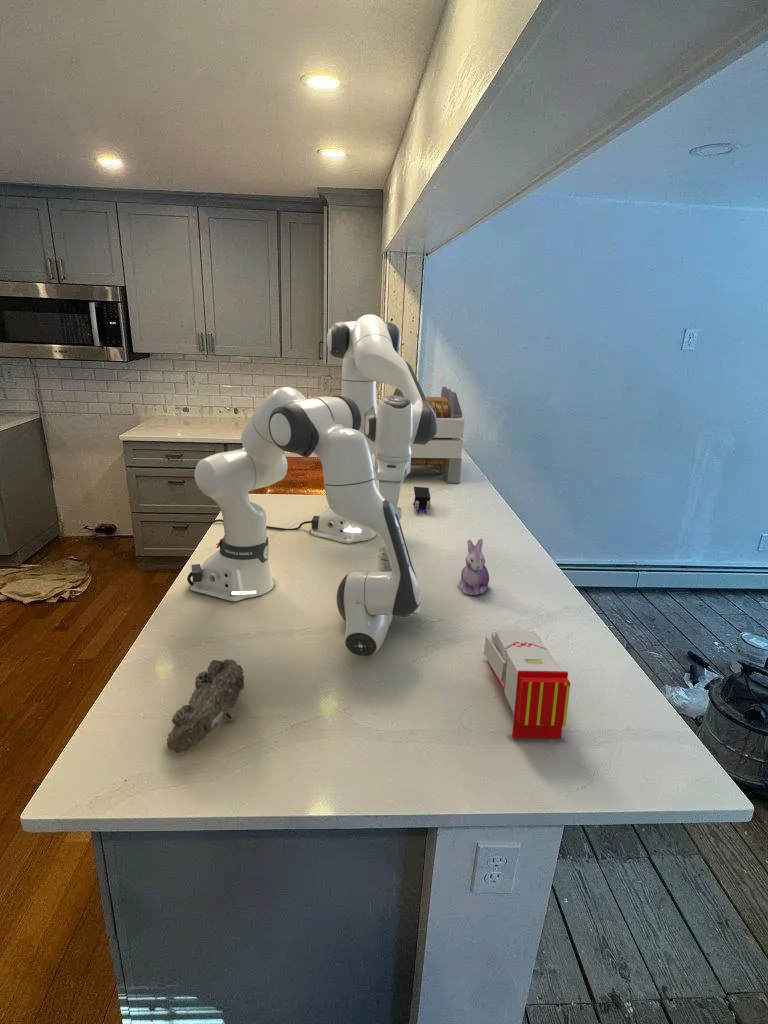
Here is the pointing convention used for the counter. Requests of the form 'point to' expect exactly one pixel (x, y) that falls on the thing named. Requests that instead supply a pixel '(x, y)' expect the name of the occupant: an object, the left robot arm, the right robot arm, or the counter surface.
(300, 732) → the counter surface
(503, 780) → the counter surface
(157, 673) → the counter surface
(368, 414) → the right robot arm
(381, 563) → the jar
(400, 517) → the lid
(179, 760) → the counter surface
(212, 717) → the fossil
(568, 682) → the toy
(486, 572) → the figurine
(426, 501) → the figurine character
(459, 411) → the transformer
